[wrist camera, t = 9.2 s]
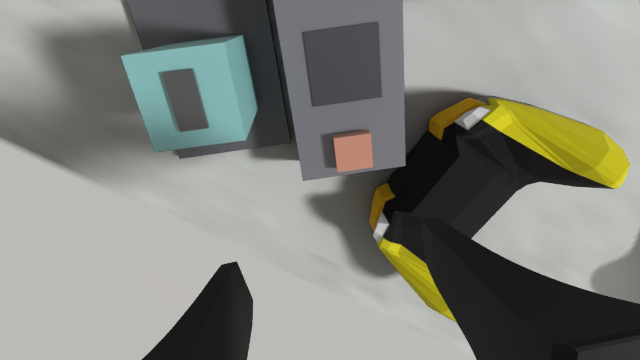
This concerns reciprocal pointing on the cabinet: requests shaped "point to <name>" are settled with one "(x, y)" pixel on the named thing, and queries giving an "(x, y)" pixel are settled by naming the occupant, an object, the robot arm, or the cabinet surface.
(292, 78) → the power strip
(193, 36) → the mat
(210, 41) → the block
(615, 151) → the gaming controller
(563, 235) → the cabinet surface
